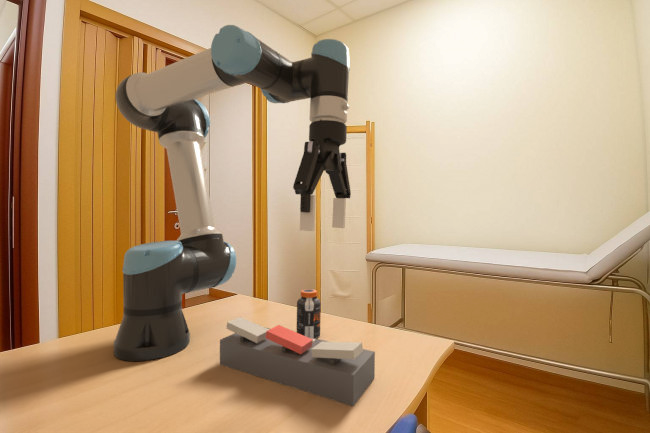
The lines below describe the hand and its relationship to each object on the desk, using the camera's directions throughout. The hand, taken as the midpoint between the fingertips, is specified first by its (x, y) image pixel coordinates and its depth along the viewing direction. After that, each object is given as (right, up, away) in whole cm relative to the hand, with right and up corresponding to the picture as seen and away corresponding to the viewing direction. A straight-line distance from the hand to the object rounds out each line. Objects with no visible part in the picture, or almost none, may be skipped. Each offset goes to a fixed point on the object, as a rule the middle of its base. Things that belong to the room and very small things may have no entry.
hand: (324, 229), depth 66 cm
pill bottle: (-4, -27, +15) cm, 32 cm away
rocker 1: (-15, -20, 0) cm, 25 cm away
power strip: (-6, -27, -3) cm, 28 cm away
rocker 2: (+2, -21, -9) cm, 23 cm away
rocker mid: (-7, -20, -5) cm, 22 cm away
